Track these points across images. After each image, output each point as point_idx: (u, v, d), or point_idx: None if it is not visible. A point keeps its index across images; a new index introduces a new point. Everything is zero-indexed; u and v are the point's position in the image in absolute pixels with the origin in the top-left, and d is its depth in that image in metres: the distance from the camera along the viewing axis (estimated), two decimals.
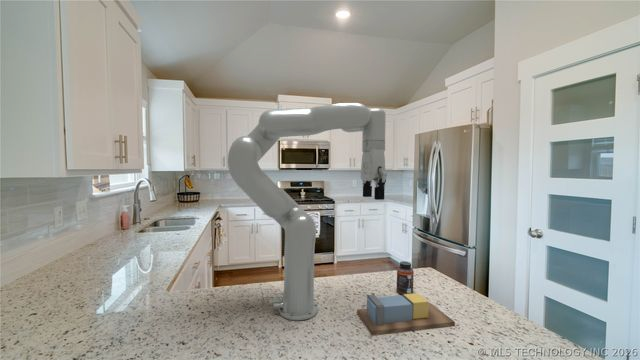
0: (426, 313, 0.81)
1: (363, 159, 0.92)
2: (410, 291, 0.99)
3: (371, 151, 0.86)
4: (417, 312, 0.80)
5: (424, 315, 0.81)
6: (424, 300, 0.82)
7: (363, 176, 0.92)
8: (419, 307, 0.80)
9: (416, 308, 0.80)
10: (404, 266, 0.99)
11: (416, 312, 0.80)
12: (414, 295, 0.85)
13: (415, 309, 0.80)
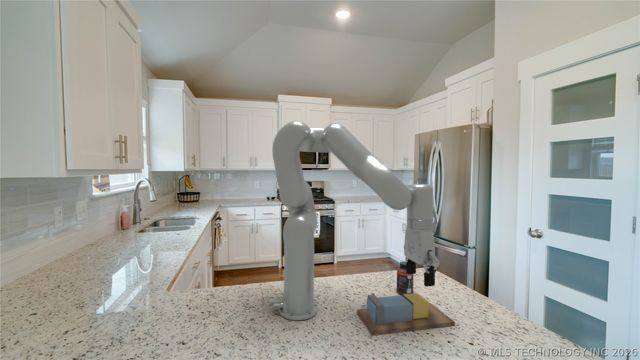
0: (426, 313, 0.81)
1: (408, 236, 0.84)
2: (410, 291, 0.99)
3: (419, 232, 0.79)
4: (417, 312, 0.80)
5: (424, 315, 0.81)
6: (424, 300, 0.82)
7: (408, 254, 0.84)
8: (419, 307, 0.80)
9: (416, 308, 0.80)
10: (404, 266, 0.99)
11: (416, 312, 0.80)
12: (414, 295, 0.85)
13: (415, 309, 0.80)
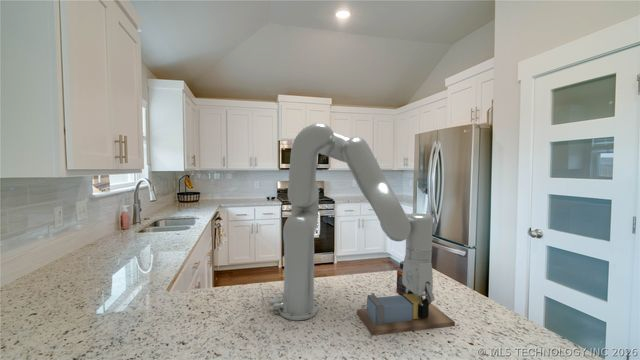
0: None
1: (406, 265, 0.85)
2: None
3: (418, 264, 0.79)
4: (417, 312, 0.80)
5: None
6: None
7: (406, 283, 0.84)
8: None
9: (416, 308, 0.80)
10: None
11: (416, 312, 0.80)
12: (414, 295, 0.85)
13: (415, 309, 0.80)
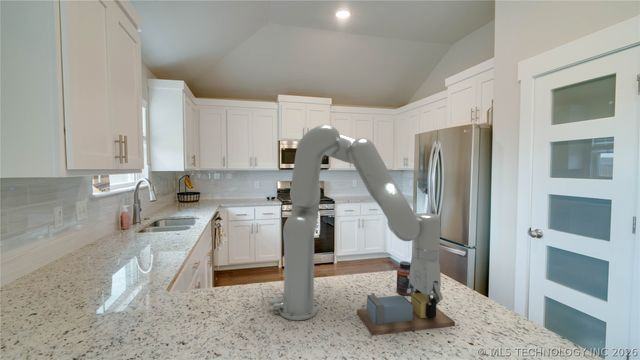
0: None
1: (413, 264, 0.85)
2: (410, 291, 0.99)
3: (426, 263, 0.80)
4: (425, 311, 0.81)
5: None
6: None
7: (413, 283, 0.85)
8: None
9: (424, 307, 0.81)
10: (404, 266, 0.99)
11: (424, 311, 0.81)
12: (421, 294, 0.85)
13: (423, 308, 0.81)
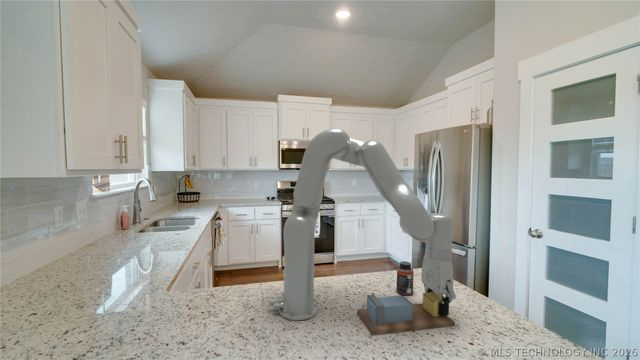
0: None
1: (426, 264, 0.86)
2: (410, 291, 0.99)
3: (439, 262, 0.81)
4: None
5: None
6: None
7: (425, 282, 0.86)
8: None
9: (437, 306, 0.82)
10: (404, 266, 0.99)
11: (436, 310, 0.82)
12: (434, 293, 0.86)
13: (435, 307, 0.82)
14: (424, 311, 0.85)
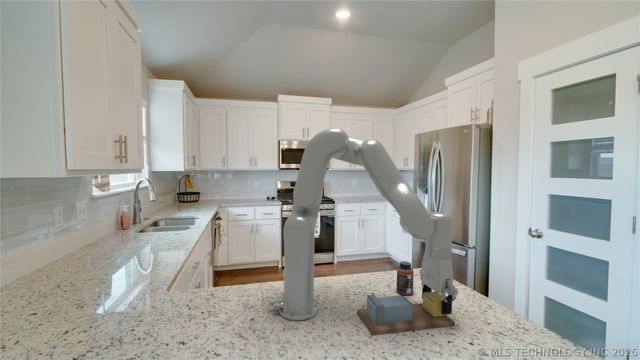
0: None
1: (425, 263, 0.86)
2: (410, 291, 0.99)
3: (438, 261, 0.81)
4: (438, 310, 0.82)
5: None
6: None
7: (425, 281, 0.86)
8: (440, 305, 0.82)
9: (437, 306, 0.82)
10: (404, 266, 0.99)
11: (436, 310, 0.82)
12: (434, 293, 0.86)
13: (435, 307, 0.82)
14: (424, 311, 0.85)
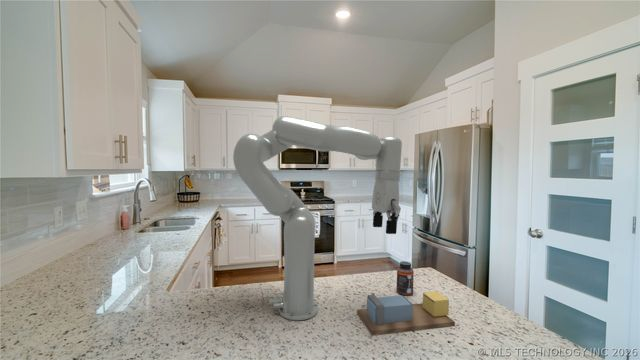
0: (446, 311, 0.82)
1: (375, 188, 0.87)
2: (410, 291, 0.99)
3: (385, 182, 0.82)
4: (438, 310, 0.82)
5: (444, 313, 0.82)
6: (444, 298, 0.83)
7: (374, 206, 0.87)
8: (440, 305, 0.82)
9: (437, 306, 0.82)
10: (404, 266, 0.99)
11: (436, 310, 0.82)
12: (434, 293, 0.86)
13: (435, 307, 0.82)
14: (424, 311, 0.85)
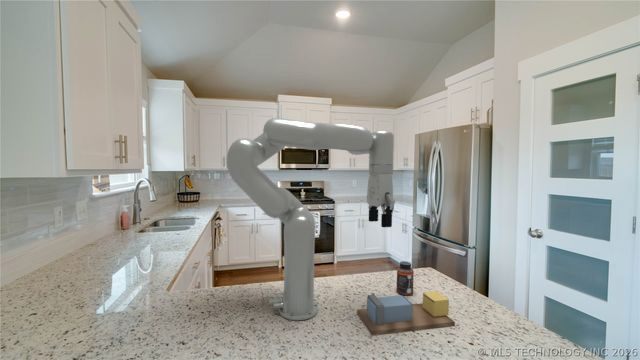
0: (446, 311, 0.82)
1: (369, 183, 0.88)
2: (410, 291, 0.99)
3: (378, 176, 0.82)
4: (438, 310, 0.82)
5: (444, 313, 0.82)
6: (444, 298, 0.83)
7: (369, 200, 0.88)
8: (440, 305, 0.82)
9: (437, 306, 0.82)
10: (404, 266, 0.99)
11: (436, 310, 0.82)
12: (434, 293, 0.86)
13: (435, 307, 0.82)
14: (424, 311, 0.85)
